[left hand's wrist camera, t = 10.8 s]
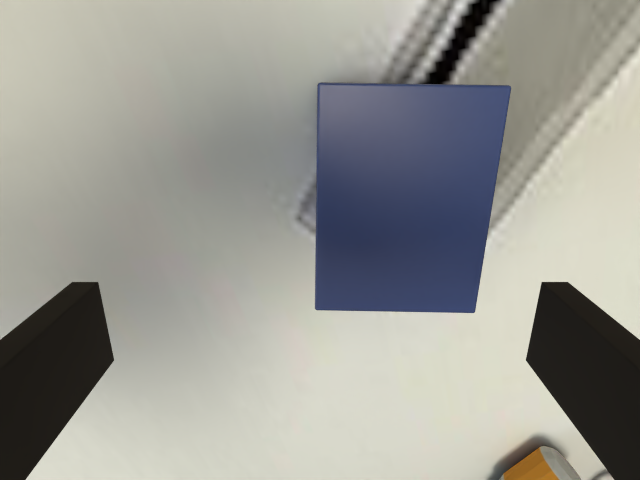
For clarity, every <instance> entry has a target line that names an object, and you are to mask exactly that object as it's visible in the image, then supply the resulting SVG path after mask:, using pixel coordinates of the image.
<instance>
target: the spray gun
mask: <svg viewBox="0 0 640 480" xmlns="http://www.w3.org/2000/svg"><path fill="white" fill-rule="evenodd" d="M499 480H581V479H580V477H579V475H578V474H577V473H576V471H575V470H574V469H573V467H572V466H571V465H570V464H569V462H568V461H567V460H566V459H565V458H564V457H563V456H562V455H561V454H560V453H559V452H558V451H557V450H555V449H553V448H550V447H547V446H541V447H539V448H538V449H536V450H535V451H534V452H532V453H531V454H530V455H528V456H527V457H525V458H524V459H523V460H521V461H520V462H519V463H517V464H516V465H514V466H513V467H512V468H510V469H509V470H508V471H506V472H505V473H504V474H503V475H502V476H501V478H500V479H499Z"/></svg>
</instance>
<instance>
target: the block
mask: <svg viewBox="0 0 640 480" xmlns="http://www.w3.org/2000/svg"><path fill="white" fill-rule="evenodd" d="M510 91H511V86H509V85H445V84H379V83H318V96H317V183H316V270H315V309H316V310H340V311H395V312H451V313H474V312H475V308H476V302H477V296H478V290H479V284H480V277H481V271H482V265H483V259H484V253H485V246H486V240H487V234H488V228H489V222H490V215H491V209H492V203H493V197H494V191H495V184H496V178H497V172H498V166H499V160H500V153H501V147H502V141H503V135H504V129H505V122H506V116H507V110H508V104H509V98H510Z"/></svg>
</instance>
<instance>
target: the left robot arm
mask: <svg viewBox="0 0 640 480" xmlns="http://www.w3.org/2000/svg"><path fill="white" fill-rule="evenodd" d="M113 361H114V357H113V353H112V348H111V343H110V338H109V333H108V328H107V323H106V318H105V313H104V308H103V303H102V299H101V294H100V289H99V284H98V282H72V283H71V284H69V285H68V286H67V287H66V288H64V289H63V290H62V291H61V292H59V293H58V294H57V295H56V296H54V297H53V298H52V299H51V300H49V301H48V302H47V303H46V304H44V305H43V306H42V307H41V308H39V309H38V310H37V311H36V312H35V313H33V314H32V315H31V316H30V317H28V318H27V319H26V320H25V321H23V322H22V323H21V324H20V325H18V326H17V327H16V328H15V329H13V330H12V331H11V332H10V333H8V334H7V335H6V336H5V337H3V338H2V339H1V340H0V480H25V479H26V478H27V477H28V475H29V474H30V473H31V471H32V470H33V469H34V467H35V466H36V465H37V463H38V462H39V461H40V459H41V458H42V457H43V455H44V454H45V453H46V451H47V450H48V448H49V447H50V446H51V444H52V443H53V442H54V440H55V439H56V438H57V436H58V435H59V434H60V432H61V431H62V430H63V428H64V427H65V426H66V424H67V423H68V422H69V420H70V419H71V417H72V416H73V415H74V413H75V412H76V411H77V409H78V408H79V407H80V405H81V404H82V403H83V401H84V400H85V399H86V397H87V396H88V395H89V393H90V392H91V391H92V389H93V388H94V387H95V385H96V384H97V382H98V381H99V380H100V378H101V377H102V376H103V374H104V373H105V372H106V370H107V369H108V368H109V366H110V365H111V364H112V362H113ZM526 361H527V362H528V364H529V365H530V366H531V368H532V369H533V370H534V372H535V373H536V374H537V376H538V377H539V378H540V380H541V381H542V382H543V384H544V385H545V387H546V388H547V389H548V391H549V392H550V393H551V395H552V396H553V397H554V399H555V400H556V401H557V403H558V404H559V405H560V407H561V408H562V409H563V411H564V412H565V413H566V415H567V416H568V417H569V419H570V420H571V422H572V423H573V424H574V426H575V427H576V428H577V430H578V431H579V432H580V434H581V435H582V436H583V438H584V439H585V440H586V442H587V443H588V444H589V446H590V447H591V448H592V450H593V451H594V453H595V454H596V455H597V457H598V458H599V459H600V461H601V462H602V463H603V465H604V466H605V467H606V469H607V470H608V471H609V473H610V474H611V475H612V477H613V478H614V479H615V480H640V340H639V339H638V338H637V337H635V336H634V335H633V334H632V333H630V332H629V331H628V330H627V329H625V328H624V327H623V326H622V325H620V324H619V323H618V322H617V321H615V320H614V319H613V318H612V317H610V316H609V315H608V314H607V313H605V312H604V311H603V310H602V309H601V308H599V307H598V306H597V305H596V304H594V303H593V302H592V301H591V300H589V299H588V298H587V297H586V296H584V295H583V294H582V293H581V292H579V291H578V290H577V289H576V288H574V287H573V286H572V285H571V284H569V283H568V282H542V284H541V289H540V294H539V299H538V303H537V308H536V313H535V318H534V323H533V328H532V333H531V338H530V343H529V348H528V353H527V357H526Z"/></svg>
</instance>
